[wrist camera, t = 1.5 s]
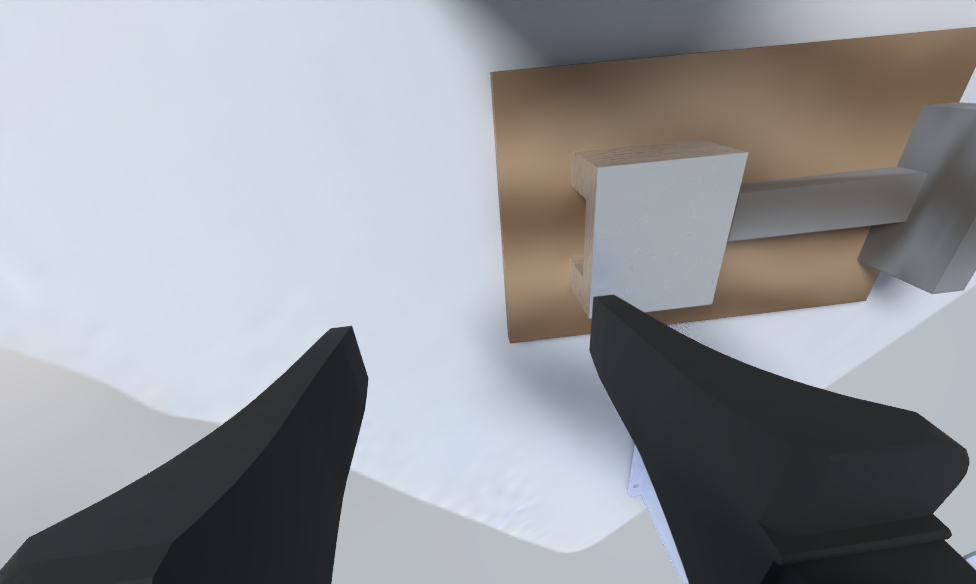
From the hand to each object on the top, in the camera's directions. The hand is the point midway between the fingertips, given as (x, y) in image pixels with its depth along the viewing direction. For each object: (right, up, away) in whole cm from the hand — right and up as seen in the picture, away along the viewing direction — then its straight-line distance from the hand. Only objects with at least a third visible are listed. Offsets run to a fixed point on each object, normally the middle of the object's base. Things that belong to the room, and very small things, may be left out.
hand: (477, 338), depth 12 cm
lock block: (+7, +5, +8) cm, 12 cm away
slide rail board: (+12, +6, +9) cm, 16 cm away
